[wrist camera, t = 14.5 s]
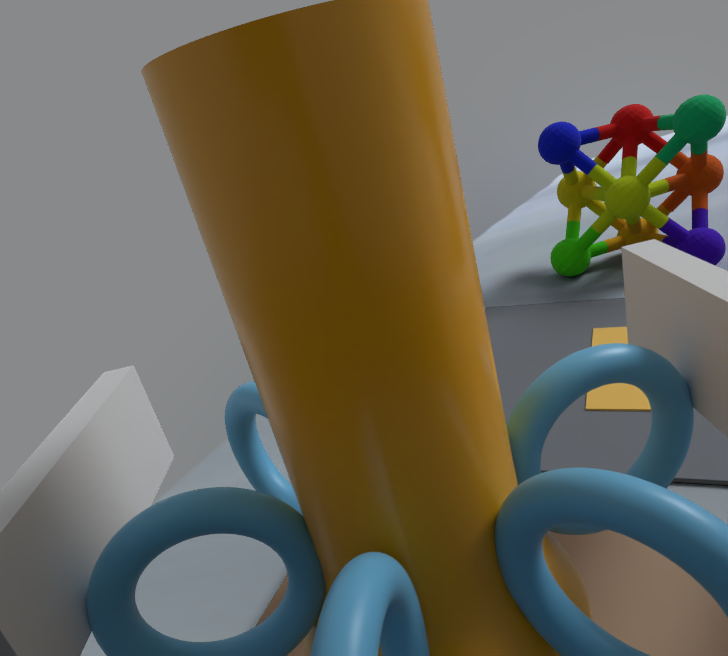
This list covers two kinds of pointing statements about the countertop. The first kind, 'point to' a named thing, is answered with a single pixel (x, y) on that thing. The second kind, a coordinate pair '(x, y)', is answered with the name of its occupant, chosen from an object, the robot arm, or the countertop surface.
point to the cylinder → (381, 370)
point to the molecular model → (637, 182)
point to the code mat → (597, 407)
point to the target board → (632, 597)
